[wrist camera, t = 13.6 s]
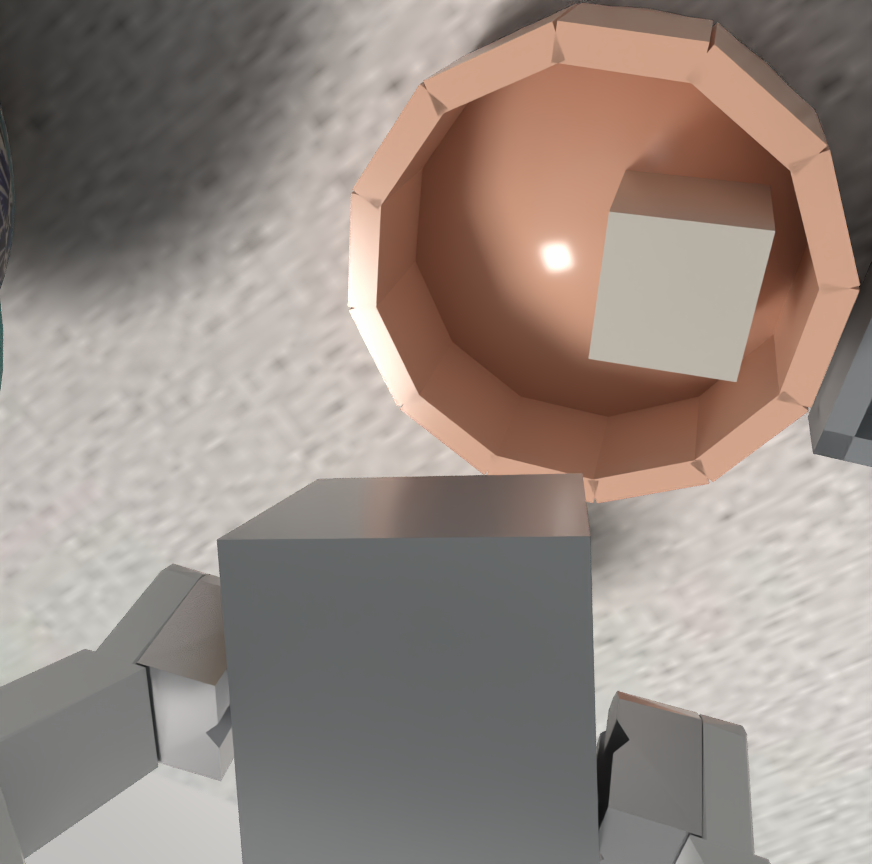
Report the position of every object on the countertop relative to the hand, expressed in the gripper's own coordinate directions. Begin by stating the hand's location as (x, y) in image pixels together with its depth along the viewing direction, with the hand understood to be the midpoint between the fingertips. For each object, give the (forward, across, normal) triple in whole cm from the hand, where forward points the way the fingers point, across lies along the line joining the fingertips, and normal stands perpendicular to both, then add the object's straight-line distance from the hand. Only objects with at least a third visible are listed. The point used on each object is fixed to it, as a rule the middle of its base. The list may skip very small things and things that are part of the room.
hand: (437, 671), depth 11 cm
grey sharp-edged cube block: (+2, 0, 0) cm, 2 cm away
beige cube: (+15, -3, -1) cm, 16 cm away
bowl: (+16, 0, 0) cm, 16 cm away
